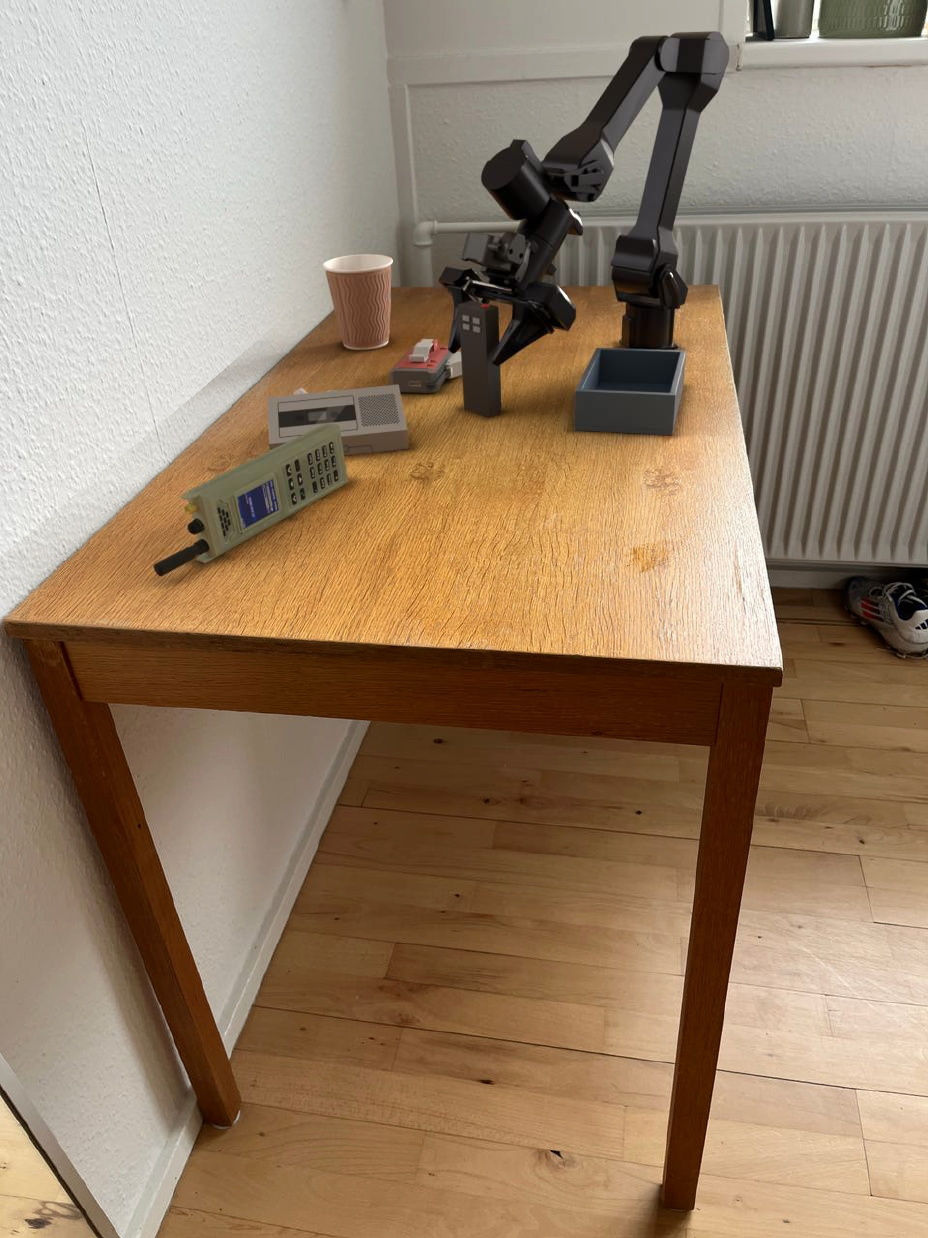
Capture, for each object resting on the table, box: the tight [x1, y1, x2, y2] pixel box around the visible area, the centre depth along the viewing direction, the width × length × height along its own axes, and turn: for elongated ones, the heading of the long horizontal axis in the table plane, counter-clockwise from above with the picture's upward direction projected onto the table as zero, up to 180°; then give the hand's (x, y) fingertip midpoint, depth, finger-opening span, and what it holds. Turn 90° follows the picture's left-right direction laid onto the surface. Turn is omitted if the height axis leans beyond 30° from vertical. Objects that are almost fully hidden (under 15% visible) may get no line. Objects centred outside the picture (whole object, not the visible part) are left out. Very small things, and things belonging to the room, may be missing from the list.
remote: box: [458, 300, 503, 418], centre depth 116 cm, size 2×5×13 cm, turn 43°
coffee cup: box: [322, 253, 394, 351], centre depth 143 cm, size 10×10×12 cm
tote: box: [573, 347, 687, 436], centre depth 116 cm, size 16×11×5 cm
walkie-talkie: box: [388, 338, 462, 395], centre depth 132 cm, size 9×4×20 cm
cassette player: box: [266, 384, 410, 457], centre depth 112 cm, size 16×3×10 cm
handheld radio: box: [153, 423, 349, 577], centre depth 93 cm, size 7×3×25 cm
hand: (472, 357), depth 115 cm, fingers open, 7 cm apart
